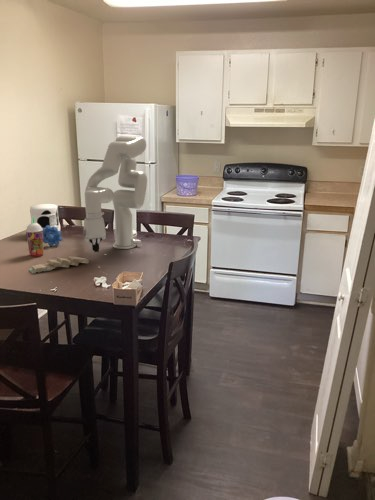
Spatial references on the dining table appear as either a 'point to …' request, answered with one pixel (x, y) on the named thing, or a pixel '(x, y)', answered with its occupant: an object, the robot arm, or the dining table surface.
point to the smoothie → (35, 239)
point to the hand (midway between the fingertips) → (95, 251)
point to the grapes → (51, 235)
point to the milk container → (45, 215)
